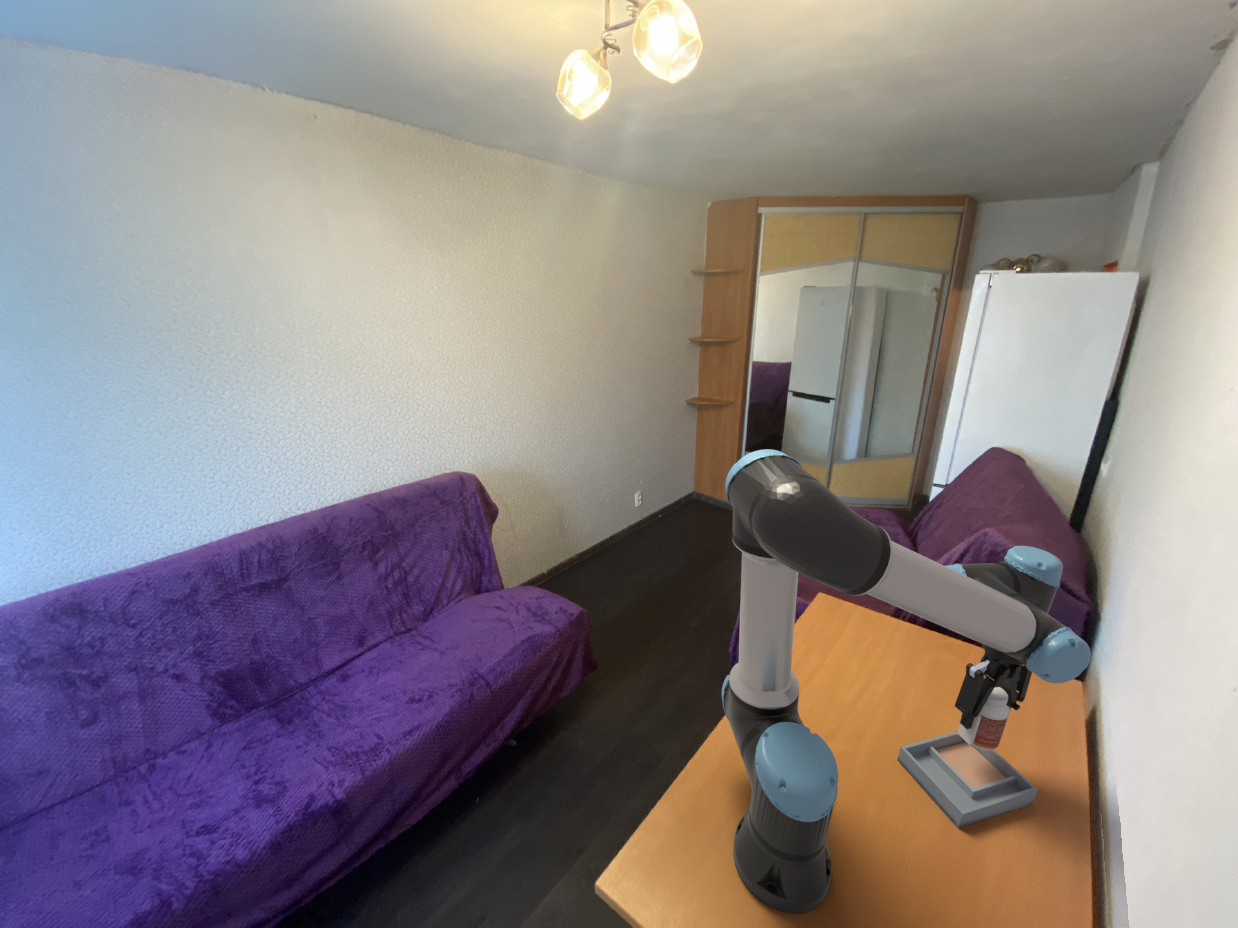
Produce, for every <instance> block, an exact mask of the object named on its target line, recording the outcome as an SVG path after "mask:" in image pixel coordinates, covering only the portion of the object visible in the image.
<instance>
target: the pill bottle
mask: <svg viewBox="0 0 1238 928" xmlns="http://www.w3.org/2000/svg"><path fill="white" fill-rule="evenodd" d="M1007 701H1008V695H1007V693H1006V692H1005V691H1004V690H1003V689H1002V688H1000V687H995V688H994V689H993V691H992V693H991V694H990V696H989V698H988V699H987V701H986V703H985V705H984V706H983V708H982V710H981V711H980V713H979V715H980V716H981V720H980V723H979V727H978V730H977V733H976V736H975V739H974V742H973V744H972V745H973V746H975V747H977V748H980V749H983V750H996V749H998V747H999V745H1000V742H1001V741H1002V736H1003V735H1002V734H1004V732H1003V731H1005V729H1004V727H1005V728H1006V726H1005V724H1006V725H1007V723H1006V721H1007V722H1008V720H1007V718H1008V719H1009V717H1008V714H1009V710H1008V707H1007V705H1006V704H1007ZM1009 715H1010V714H1009Z"/></svg>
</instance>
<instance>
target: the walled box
mask: <svg viewBox="0 0 1238 928" xmlns="http://www.w3.org/2000/svg"><path fill="white" fill-rule="evenodd" d="M957 732H958V730H957V731H956V730H955V731H953V732H950V733H945V734H943V735H938V736H935V737H931V738H927V739H924V740H920V741H916V742H911V743H909V744H905V745H902V746H900V747H899V751H898V755H897V758H896V760H897V762H898V763H899V764H900V765H901V766H902V767H903V768H904V769H905V771H906V772H907V774H909V775H910V777H912V779H914V781H915V782H916V783H917V784H918V785H919V786H920V787H921V789H922V790H923V791H924V792H925V793H926V794H927V796H929V798H930V799H932V801H933V802H934V803H935V805H936V806H937V807H938V808H939V809H940V810H941V811H942V813H944V814H945V816H946V817H947V818H948V819H949V820H950V821H951V822H952V824H953V825H954V826H955V827H956V828H957V829H960V828H964V827H967V826H969V825H970V826H971V825H973V824H976V823H978V822H981V821H984V820H987V819H991V818H993V817H997V816H1000V815H1003V814H1007V813H1009V812H1011V811H1015V810H1017V809H1018V810H1019V809H1021V808H1024V807H1027V806H1031V805H1033V804H1034V801H1035V798H1036V797H1037V794H1038V792H1039V789H1038V788H1037V787H1036V786H1035V785H1034V784H1033V783H1031V781H1029V780H1028V779H1027V778H1026V777H1025V776H1024V775H1022V773H1020V772H1019V770H1017V769H1016V768H1015V767H1014V766H1013V765H1011V764H1010V763H1009V762H1008V761H1007V760H1006V759H1005V758H1004V757H1003V756H1002V755H1000V753H999V752H997V750H996V749H994V750H983V749H980V748H977V747H975V746H973V745H969V744H968V743H967V742H966V741H965V740H964V739H963V738H962V737H961V736H959V735H958V734H957Z"/></svg>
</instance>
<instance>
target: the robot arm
mask: <svg viewBox="0 0 1238 928" xmlns="http://www.w3.org/2000/svg"><path fill="white" fill-rule="evenodd" d="M724 485H725V486H724V489H725V496H726V499H727V502H728V503H729V505H730V506H731V507H732V543H733V545H734V547H736V548H737V549H738V551H740V552H741V573H740V575H741V576H740V606H739V608H740V609H739V636H738V637H739V638H738V639H739V640H738V641H739V642H738V662H737V663H736V664H735V665H734V666H732V667H731V670H730V673H729V674H727V675H726V677H725V679H724V680H723V683H722V686H721V687H722V688H721V700H722V708H723V711H724V715H725V717H726V719H727V720H728V721H729V725H730V728H731V730H732V734H733V736H734V737H733V738H734V739H735V742H736V745H737V747H738V750H739V753H740V756H741V759H742V762H743V764H744V768H745V770H746V773H747V775H748V779H749V782H750V788H751V796H750V802H749V808H748V810H747V811H746V812H745V813H744V815H743V816H742V818H741V819H740V820H739V822H738V824H737V826H736V829H735V833H734V836H733V847H732V852H733V853H732V854H733V861H734V865H735V867H736V870H737V873H738V875H739V877H740V879H741V881H742V882H743V883H744V885H745V887H746V888H748V890H749V891H750V892H751V893H752V895H754V896H755V898H757V899H758V900H760V901H761V902H762V903H764V904H765V905H766V906H769V907H771V908H772V909H775V910H777V911H779V912H784V913H789V914H802V913H807V912H810V911H812V910H814V909H815V908H817V907H818V906H819V905H820V904H821V903H822V902H823V901H824V900H825V898H826V897H827V895H828V892H829V889H830V884H831V881H832V880H831V879H832V872H833V871H832V870H833V866H832V865H833V863H832V859H831V854H830V850H829V847H828V846H829V845H828V841H827V837H828V832H829V828H830V824H831V819H832V814H833V810H834V806H835V803H836V800H837V798H838V797H837V796H838V790H839V785H838V784H839V769H838V764H837V761H836V758H835V755H834V753H833V751H832V749H831V748H830V746H829V744H827V742H826V741H825V740H824V739H823V738H822V737H821V735H819V734H818V733H817V732H816V733H815V732H814V733H812V732H811V730H810V728H809V727H807V726H806V725H804V723H803V720H802V719H801V717H800V713H799V709H798V708H799V701H800V700H799V697H800V683H799V680H798V678H797V676H796V675H795V673H794V672H793V671H792V663H793V650H794V649H793V647H794V637H795V622H796V613H797V612H796V611H797V610H796V609H797V600H798V599H797V595H798V586H799V585H798V583H799V574H800V575H802V576H805V577H807V578H810V579H811V580H814V581H816V582H818V583H820V584H823V585H825V586H828V587H830V588H831V589H834V590H836V591H839V592H841V593H844V594H846V595H848V596H854V597H859V596H864V595H869V596H870V597H874V598H876V599H878V600H880V601H882V602H884V603H887V604H889V605H891V606H894V607H896V608H899V609H902V610H904V611H905V612H908V613H909V614H913V615H915V616H917V617H920V618H921V619H925V620H926V621H929V622H931V623H933V624H935V625H938V626H940V627H942V628H945V629H948V630H949V631H952V632H954V633H957V634H959V635H961V636H963V637H965V638H968V639H971V640H973V641H976V642H978V643H980V644H981V645H982V647H983V649H984V654H983V656H982V657H981V658H980V662H979V663H977V664H976V665H975V664H974V663H971V662H969V663H967V664H966V666H965V675H964V677H963V681H962V684H961V687H960V690H959V692H958V695H957V698H956V700H955V702H954V707H955V708H956V709H957V710H959V712H961V713H962V714H961V718H960V720H959V721H960V722H959V727H958V729H957V731H958V732H957V734H958V735H959V736H961V737H962V738H963V739H964V740H965V741H966V742H967V743H968V744H969V745H972V744H973V742H974V739H975V736H976V733H977V730H978V727H979V723H980V720H981V716H980V715H979V713H980V711H981V710H982V708H983V706H984V705H985V703H986V701H987V699H988V698H989V696H990V694H991V693H992V691H993V689H994V688H995V687H1000V688H1002V689H1003V690H1004V691H1005V692H1006V693H1007V695H1008V701H1007V704H1006V705H1007V707H1008V710H1009V714H1008V718H1007V721H1006V724H1005V727H1004V731H1005V728H1006V725H1007V723H1008V720H1009V717H1010V713H1011V711H1012V709H1013V710H1014V711H1018V710H1019V709H1020V708H1021V706H1020V704H1018V703H1017V702H1019V703H1023V702H1024V701H1025V699H1026V695H1027V692H1028V688H1029V685H1030V681H1031V678H1032V673H1033V674H1034V675H1036V676H1037V677H1039V678H1040V679H1041V680H1043V681H1045V682H1047V683H1051V684H1063V683H1068V682H1070V681H1072V680H1074V679H1075V678H1077V677H1079V676H1080V675H1082V673H1083V672H1084V670H1086V669H1087V668H1088V666H1089V664H1090V662H1091V659H1092V651H1091V648H1090V646H1089V644H1088V643H1087V642H1086V641H1085V640H1084V639H1083V638H1081V637H1080V636H1079V635H1077V634H1076V633H1075V632H1074V631H1073V630H1072V628H1070V627H1067V626H1066V625H1064V624H1063V623H1061V622H1060V621H1059V620H1057V619H1056V618H1054V617H1052V615H1050V614H1049V612H1050V609H1051V607H1052V605H1053V602H1054V599H1055V597H1056V593H1057V591H1058V589H1059V588H1060V587H1061V580H1062V575H1063V569H1064V564H1063V563H1062V561H1061V559H1060V558H1058V557H1057V555H1054V554H1052V553H1051V552H1049V551H1047V550H1044V549H1041V548H1038V547H1035V546H1030V545H1029V546H1028V545H1015V546H1013V547H1011V548H1010V549H1008V550H1007V552H1006V555H1005V556H1004V558H1003V559H1004V561H997V562H995V561H994V562H986V563H984V562H983V563H981V562H979V563H954V564H950V565H949V564H948V565H943V564H941V563H939V562H937V561H935V560H933V559H930V558H929V557H927V556H924V555H922V554H921V553H918V552H915V551H914V550H911V549H909V548H907V547H905V546H903V545H901V544H899V543H897V542H895V541H893V540H891V538H890V535H889V533H888V532H887V530H885V529H884V528H883V527H881V526H879V525H877V524H875V523H873V522H871V521H870V520H867V519H866V518H865V517H863V516H861V515H860V514H858V513H857V512H856V511H854V510H853V509H852V508H851V507H849V506H848V505H847V504H846V503H845V502H844V501H843V500H841V499H840V498H839V497H838V496H837V495H836V494H835V493H834V492H833V491H831V489H830V488H828V487H827V486H826V485H825V484H823V483H822V482H821V481H820V480H818V479H817V478H816V477H815V476H813V475H812V474H811V473H810V472H809V471H807V470H806V469H804V468H803V466H802V464H801V463H800V462H799V461H798V460H797V459H796V458H794V457H792V456H789V455H788V454H786V453H785V452H782V451H780V450H776V449H772V448H771V449H770V448H769V449H766V448H765V449H758V450H755V451H752V452H749V453H747V454H745V455H744V456H742V457H740V459H738V461H737V462H736V463H734V464H733V465H732V467H731V468H730V469H729V471H728V473H727V476H726V478H725V483H724ZM1004 731H1003V734H1004ZM1003 734H1002V736H1003Z"/></svg>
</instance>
